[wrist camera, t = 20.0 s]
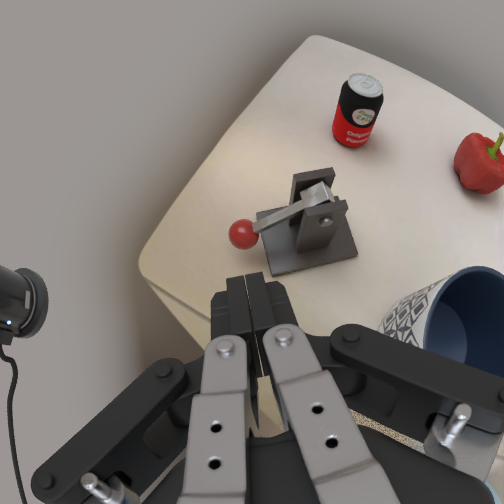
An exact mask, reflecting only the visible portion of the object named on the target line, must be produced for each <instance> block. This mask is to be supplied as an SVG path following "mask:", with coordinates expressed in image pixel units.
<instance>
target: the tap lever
mask: <svg viewBox="0 0 504 504" xmlns="http://www.w3.org/2000/svg"><path fill="white" fill-rule="evenodd" d="M300 195H301V198H302V200H300V201H298V202H296V203H294V204H292V205H290V206H288V207H286V208H283V209H281V210H279V211H277V212H275V213H273V214H271V215H269V216H267V217H265V218H263V219H261V220H259V221H257V222H255V223H253V222H252V221H250V220H246V219H241V220H238V221H236V222H235V223H233V224H232V226H231V227H230V229H229V240H230V242H231V243H232V245H233V246H235V247H236V248H238V249H242V250H246V249H250V248H252V247H253V246H254V245H255V244H256V243H257V241H258V238H259V233H261V232H263V231H265V230H268V229H270V228H272V227H274V226H276V225H278V224H280V223H282V222H285V221H287V220H289V219H291V218H293V217H295V216H297V215H300V214H302V213H304V209H305V208H307V207H312V206H316V205H321V204H326V203H331V202H335V200H334V197H333V194H332V192H331V189H330V188H329V187H328V186H327V185H326V184H325V183H324V182H323V181H322V182H319V183H317V184H315V185H313V186H311V187H309V188H307V189H305V190H303V191H301V192H300Z"/></svg>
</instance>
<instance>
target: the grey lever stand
mask: <svg viewBox="0 0 504 504" xmlns="http://www.w3.org/2000/svg"><path fill="white" fill-rule="evenodd" d="M334 178H335V172H334V170H333V167H331V168H325V169H320V170H314V171H309V172H303V173H298V174H294V175H293V182H292V189H291V196H290V203H289V206H290V205H292V204H294V203H296V202H298V201H300V200H302V198H301V195H300V192H301V191H303V190H305V189H307V188H309V187H311V186H313V185H315V184H317V183H319V182H322V181H323V182H324V183H325V184H326V185H327V186H328V187H329V188H330V189H331V186H332V183H333V180H334ZM334 200H335V202H331V203H326V204H321V205H316V206H312V207H307V208H305V209H304V213H302V214H300V215H297V216H295V217H293V218H291V219H289V220H287V221H285V222H282V223H280V224H278V225H276V226H274V227H272V228H270V229H268V230H265V231H263V232H261V236H262V240H263V244H264V247H265V251H266V255H267V259H268V263H269V267H270V271H271V275H272V277H274V276H278V275H282V274H286V273H291V272H295V271H299V270H303V269H307V268H311V267H315V266H319V265H324V264H328V263H332V262H336V261H340V260H344V259H348V258H351V257H355V256H357V254H358V252H357V249H356V246H355V243H354V240H353V237H352V234H351V231H350V228H349V225H348V222H347V220H346V217H345V214H346V212H347V210H348V205H347V203H346V200H341V201H340V200H339V198H338V196H334ZM286 207H288V206H285V207H281V208H276V209H271V210H267V211H262V212H258V213H256V216H257V220H258V221H259V220H261V219H263V218H265V217H267V216H269V215H271V214H273V213H275V212H277V211H279V210H281V209H283V208H286Z"/></svg>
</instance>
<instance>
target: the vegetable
mask: <svg viewBox="0 0 504 504" xmlns="http://www.w3.org/2000/svg"><path fill="white" fill-rule="evenodd" d="M499 135H500V136H499V138H498V140H497V141H496V143H495V142H493V141H492V140H491V139H489V138H488V137H483V136H482V135H481V134H479V133H471V134H470V135H468V136H466V137H465V138H464V140H463V141H462V142H461V144H460V145H459V147H458V149H457V152H456V154H455V158H454V168H455V170H456V171H457V172H458V174H460V181H461V183H462V184H463V185H464V186H465V187H466V188H468V189H473V190H474V189H475V190H476V191H477V192H478V193H480V194H489V193H491V192H493V191H495V190H497V189H498V188H500V187H501V186H502V185H504V155H503V154H502V153H501V150H500V149H499V147H500V146H501V144H502V142H503V139H504V135H503V133H501V132H500V133H499Z"/></svg>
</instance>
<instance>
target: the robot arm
mask: <svg viewBox="0 0 504 504" xmlns="http://www.w3.org/2000/svg"><path fill="white" fill-rule="evenodd" d="M245 278H246V284H247V290H248V294H247V290H246V285H245V280H244V276H243V275H242V276H237V277H232V278H227V279H226V284H227V291H222V292H217V293H215V295H214V297H213V298H212V300H211V342H210V343H209V344H208V345H207V346H206V349H205V354H204V355H203V356H202V357H200V358H199V359H197V360H195V361H192V362H190V363H187V364H185V365H183V363H182V362H181V361H179V360H178V359H174V358H165V359H161V360H158V361H156V362H155V363H153V364H152V365H151V366H150V367H148V368H147V369H146V370H145V371H144V372H143V373H142V374H141V375H140V376H139V377H138V378H137V379H136V380H134V381H133V382H132V383H131V384H130V385H129V386H128V387H127V388H126V389H125V390H124V391H123V392H121V393H120V394H119V395H118V396H117V397H116V398H115V399H114V400H113V401H112V402H111V403H110V404H108V405H107V406H106V407H105V408H104V409H103V410H102V411H101V412H100V413H99V414H98V415H97V416H95V417H94V418H93V419H92V420H91V421H90V422H89V423H88V424H87V425H86V426H84V427H83V428H82V429H81V430H80V431H79V432H78V433H77V434H76V435H74V436H73V437H72V438H71V439H70V440H69V441H68V442H67V443H66V444H65V445H63V446H62V447H61V448H60V449H59V450H58V451H57V452H56V453H55V454H53V455H52V456H51V457H50V458H49V459H48V460H47V461H46V462H45V463H44V464H42V465H41V466H40V467H39V468H38V469H37V470H36V471H35V472H34V474H33V476H32V479H31V489H32V492H33V494H34V496H35V497H36V498H37V499H39V500H40V501H42V502H43V503H45V504H140V499H139V497H140V496H141V495H142V493H144V492H145V490H146V489H147V488H148V487H149V486H150V485H151V484H152V483H153V482H154V481H155V480H156V479H157V478H158V477H159V476H160V475H161V474H162V472H163V471H164V470H165V469H166V468H167V467H168V466H169V465H170V464H171V462H173V460H174V459H175V458H176V457H177V456H178V455H179V454H180V453H181V452H182V451H183V449H184V448H185V447H186V446H187V450H186V457H185V458H184V459H182V460H181V461H180V462H179V463H177V464H176V465H175V466H174V467H173V468H172V469H171V471H170V472H169V473H168V474H167V475H166V477H165V478H164V479H163V480H162V481H161V482H160V483H159V485H158V486H157V487H156V488H155V489H154V490H153V491H152V492H151V494H150V495H149V496H148V497H147V498H146V499H145V500H144V501H143V503H142V504H495V502H494V498H493V495H492V493H491V491H490V490H489V488H488V487H487V486H486V485H485V484H484V483H485V480H486V478H487V476H488V474H489V471H490V469H491V466H492V464H493V462H494V459H495V456H496V454H497V451H498V449H499V446H500V443H501V440H502V437H503V435H504V378H503V377H500V376H497V375H494V374H491V373H488V372H485V371H483V370H480V369H477V368H474V367H471V366H468V365H466V364H463V363H460V362H457V361H455V360H452V359H449V358H446V357H444V356H441V355H438V354H435V353H433V352H430V351H427V350H425V349H422V348H419V347H417V346H414V345H411V344H409V343H406V342H403V341H401V340H398V339H395V338H393V337H390V336H388V335H385V334H382V333H380V332H377V331H375V330H372V329H369V328H367V327H364V326H362V325H358V324H346V325H342V326H340V327H338V328H336V329H335V330H334V331H333V332H332V333H331V336H313V335H309V334H307V333H305V332H304V331H303V330H302V329H301V328H300V327H299V326H298V323H297V320H296V317H295V315H294V312H293V309H292V306H291V303H290V301H289V298H288V296H287V292H286V289H285V287H284V286H283V285H282V284H281V283H279V282H278V281H274V282H269V283H265V280H264V277H263V273H262V272H258V273H252V274H247V275H245ZM248 296H249V299H248ZM249 301H250V304H249ZM250 307H251V309H250ZM36 308H37V292H36V288H35V285H34V283H33V282H32V280H31V279H30V278H29V277H27V276H25V275H22V274H20V273H17V272H14V271H12V270H10V269H8V268H5V267H3V266H1V265H0V357H1V359H2V360H4V361H5V362H9V363H11V366H12V369H13V378H12V383H11V386H10V390H9V394H8V400H7V413H8V427H9V437H10V445H11V452H12V459H13V465H14V469H15V475H16V479H17V484H18V488H19V492H20V496H21V499H22V503H23V504H27V501H26V497H25V494H24V490H23V485H22V481H21V477H20V471H19V466H18V461H17V454H16V447H15V439H14V429H13V416H12V401H13V394H14V390H15V387H16V383H17V379H18V369H17V365H16V362H15V360H14V359H13V358H11V357H8V356H5V354H4V352H3V350H2V344H4V345H11V342H12V339H13V336H14V333H17V334H21V333H22V330H23V329H24V328H25V327H27V326H28V325H29V324H30V322H31V321H32V319H33V317H34V315H35V312H36ZM251 313H252V314H251ZM253 324H254V325H253ZM254 330H255V331H254ZM255 335H256V336H255ZM256 339H257V342H256ZM257 344H258V348H257ZM258 349H259V353H260V358H261V363H262V367H263V372H264V376H268V375H270V380H271V384H272V389H273V394H274V397H275V400H276V403H277V407H278V410H279V413H280V416H281V419H282V423H283V426H284V429H285V432H284V433H282V434H279V435H277V436H274V437H271V438H262V437H261V425H260V408H259V394H258V381H257V378H258V377H263V376H262V370H261V365H260V359H259V353H258ZM349 408H350V409H352V410H354V411H356V412H358V413H360V414H362V415H364V416H366V417H368V418H370V419H372V420H374V421H376V422H378V423H380V424H382V425H384V426H386V427H389V428H391V429H393V430H395V431H397V432H399V433H402V434H404V435H406V436H408V437H410V438H413V439H415V440H417V441H419V442H422V443H424V445H423V446H424V451H425V453H426V455H425V454H422V453H420V452H418V451H416V450H414V449H412V448H410V447H408V446H406V445H404V444H402V443H400V442H398V441H396V440H394V439H392V438H390V437H388V436H387V435H385V434H383V433H381V432H379V431H377V430H375V429H372V428H369V427H366V426H362V425H357V424H356V422H355V420H354V418H353V416H352V414H351V412H350V410H349ZM160 416H161V417H160ZM159 417H160V418H159ZM158 418H159V419H158ZM157 419H158V420H157ZM156 420H157V421H156ZM155 421H156V422H155ZM154 422H155V423H154ZM153 423H154V424H153ZM152 424H153V425H152ZM151 425H152V426H151ZM150 426H151V427H150ZM149 427H150V428H149ZM148 428H149V429H148ZM147 429H148V430H147Z"/></svg>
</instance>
